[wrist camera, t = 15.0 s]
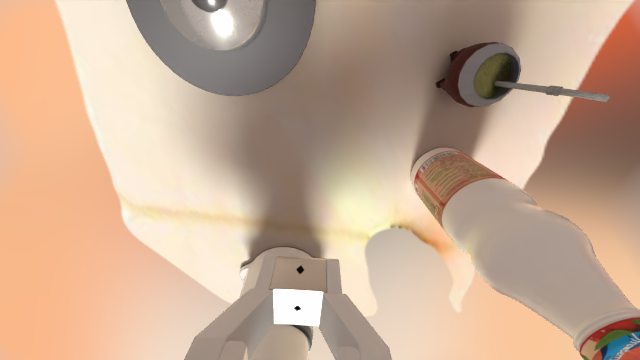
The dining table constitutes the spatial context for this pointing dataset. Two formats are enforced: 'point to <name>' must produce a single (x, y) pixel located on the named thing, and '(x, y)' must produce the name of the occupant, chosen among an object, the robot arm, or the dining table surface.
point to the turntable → (230, 66)
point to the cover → (218, 21)
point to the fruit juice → (528, 253)
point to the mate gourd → (493, 76)
